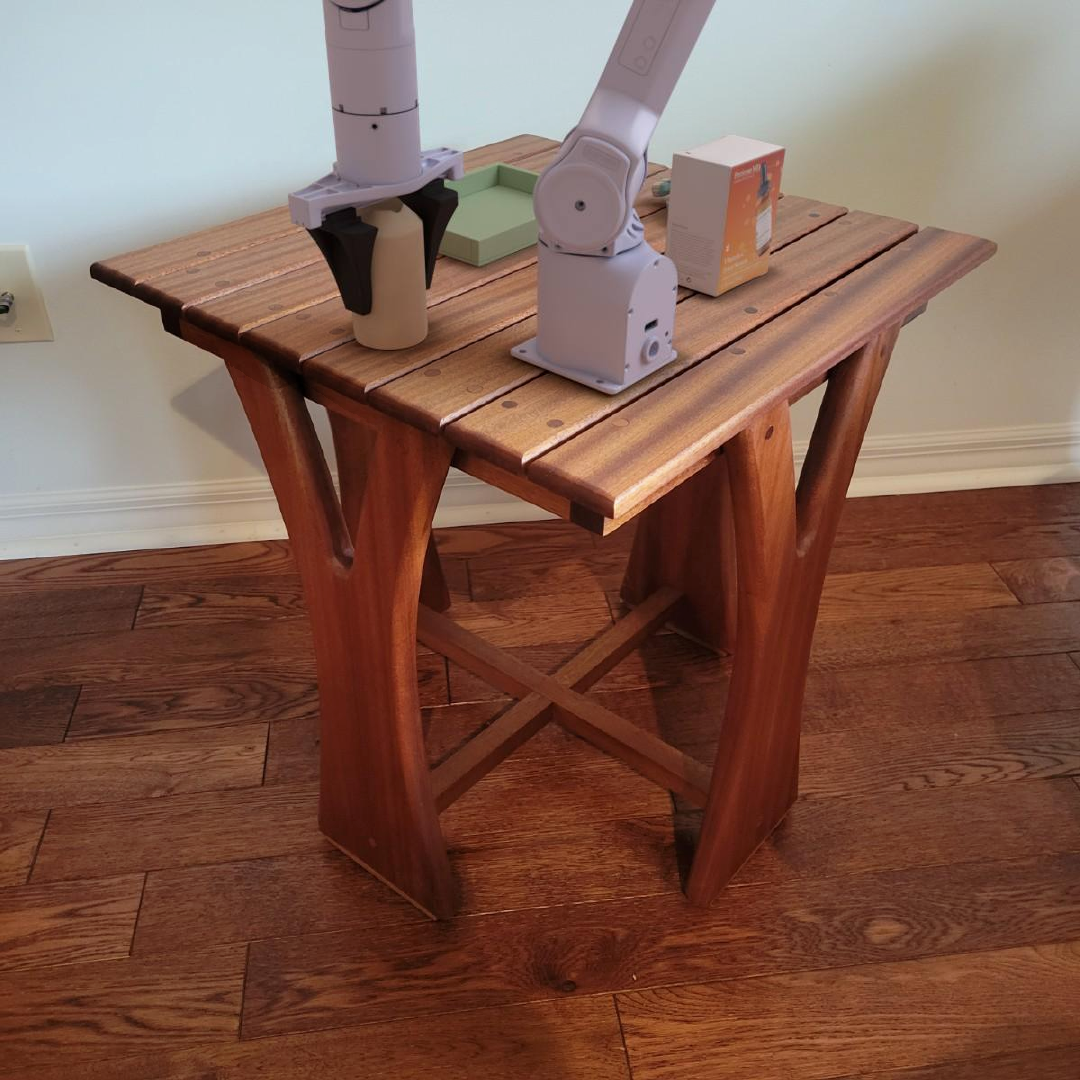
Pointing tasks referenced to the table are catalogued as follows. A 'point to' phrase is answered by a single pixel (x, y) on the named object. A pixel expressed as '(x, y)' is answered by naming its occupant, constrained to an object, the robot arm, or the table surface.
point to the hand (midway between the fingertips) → (389, 298)
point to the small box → (723, 212)
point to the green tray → (491, 214)
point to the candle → (394, 279)
